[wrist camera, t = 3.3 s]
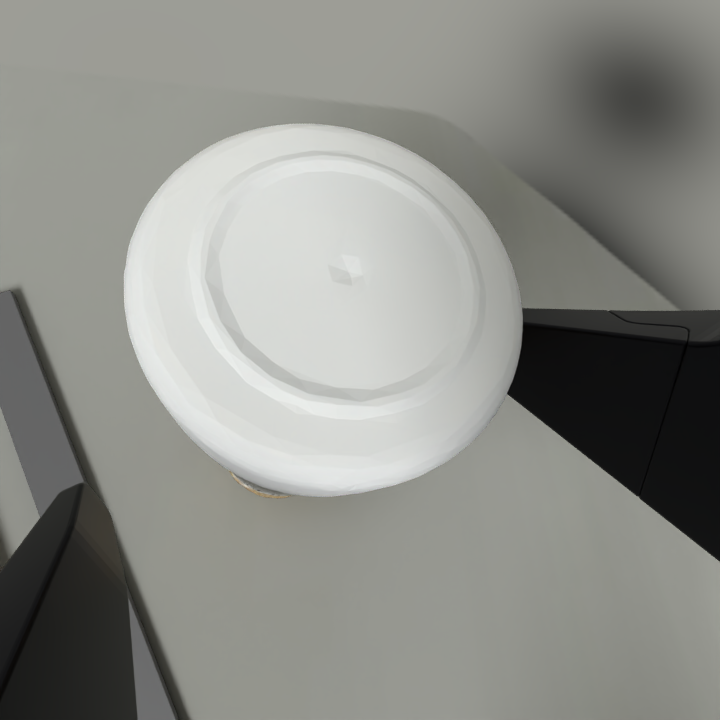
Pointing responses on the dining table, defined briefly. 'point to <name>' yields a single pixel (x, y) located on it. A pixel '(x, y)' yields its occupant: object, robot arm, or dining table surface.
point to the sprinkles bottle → (321, 310)
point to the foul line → (59, 472)
